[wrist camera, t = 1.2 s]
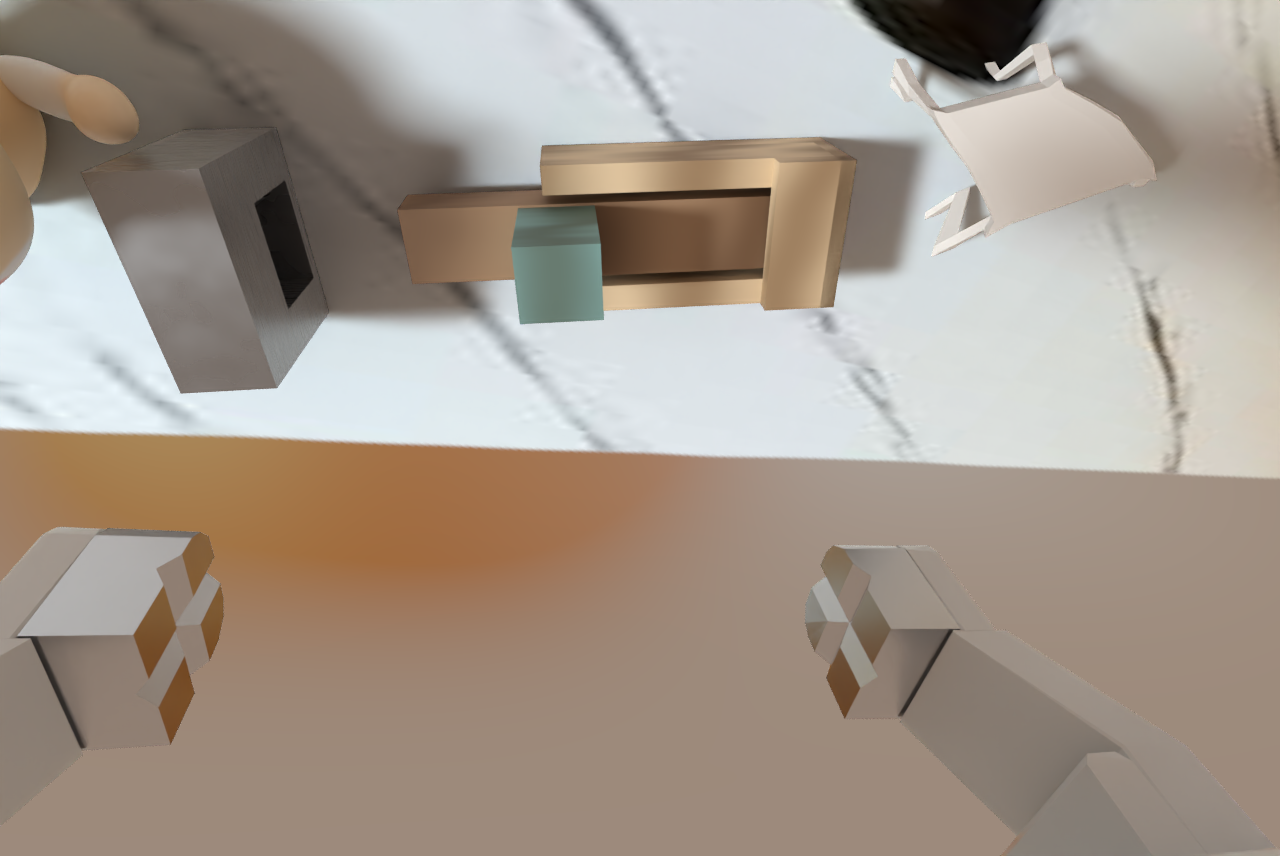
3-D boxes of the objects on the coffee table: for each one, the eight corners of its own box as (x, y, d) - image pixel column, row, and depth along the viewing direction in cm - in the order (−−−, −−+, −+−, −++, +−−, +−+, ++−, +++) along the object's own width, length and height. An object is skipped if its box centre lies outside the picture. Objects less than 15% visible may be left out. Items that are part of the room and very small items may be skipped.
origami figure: (849, 243, 32) (890, 282, 28) (877, 42, 28) (932, 53, 24) (1088, 227, 33) (1162, 263, 29) (1155, 29, 28) (1255, 38, 24)
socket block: (275, 127, 27) (198, 168, 21) (329, 312, 31) (276, 388, 26) (184, 129, 27) (81, 172, 21) (250, 315, 31) (180, 393, 25)
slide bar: (787, 181, 29) (842, 230, 23) (780, 249, 31) (830, 310, 25) (407, 194, 28) (369, 250, 22) (421, 264, 29) (389, 333, 24)
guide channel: (820, 137, 29) (856, 160, 26) (802, 270, 33) (833, 306, 29) (542, 145, 28) (539, 170, 25) (553, 281, 32) (552, 321, 28)
